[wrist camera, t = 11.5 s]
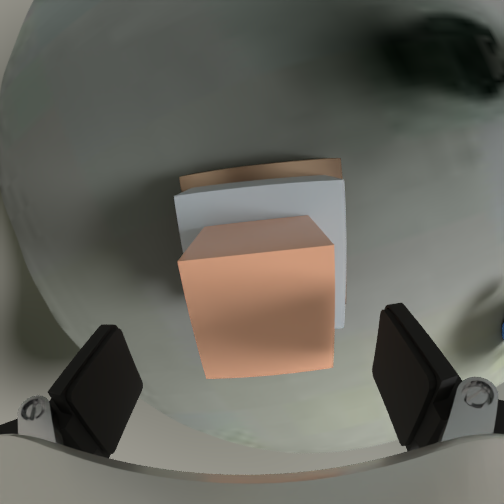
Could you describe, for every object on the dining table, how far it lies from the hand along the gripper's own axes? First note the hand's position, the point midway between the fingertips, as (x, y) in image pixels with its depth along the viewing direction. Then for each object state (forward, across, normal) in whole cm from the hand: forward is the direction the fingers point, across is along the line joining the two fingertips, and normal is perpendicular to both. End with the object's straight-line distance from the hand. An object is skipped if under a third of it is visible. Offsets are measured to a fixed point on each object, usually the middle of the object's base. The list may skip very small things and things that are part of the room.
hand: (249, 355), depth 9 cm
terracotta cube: (+7, 0, 0) cm, 7 cm away
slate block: (+12, -1, 0) cm, 12 cm away
